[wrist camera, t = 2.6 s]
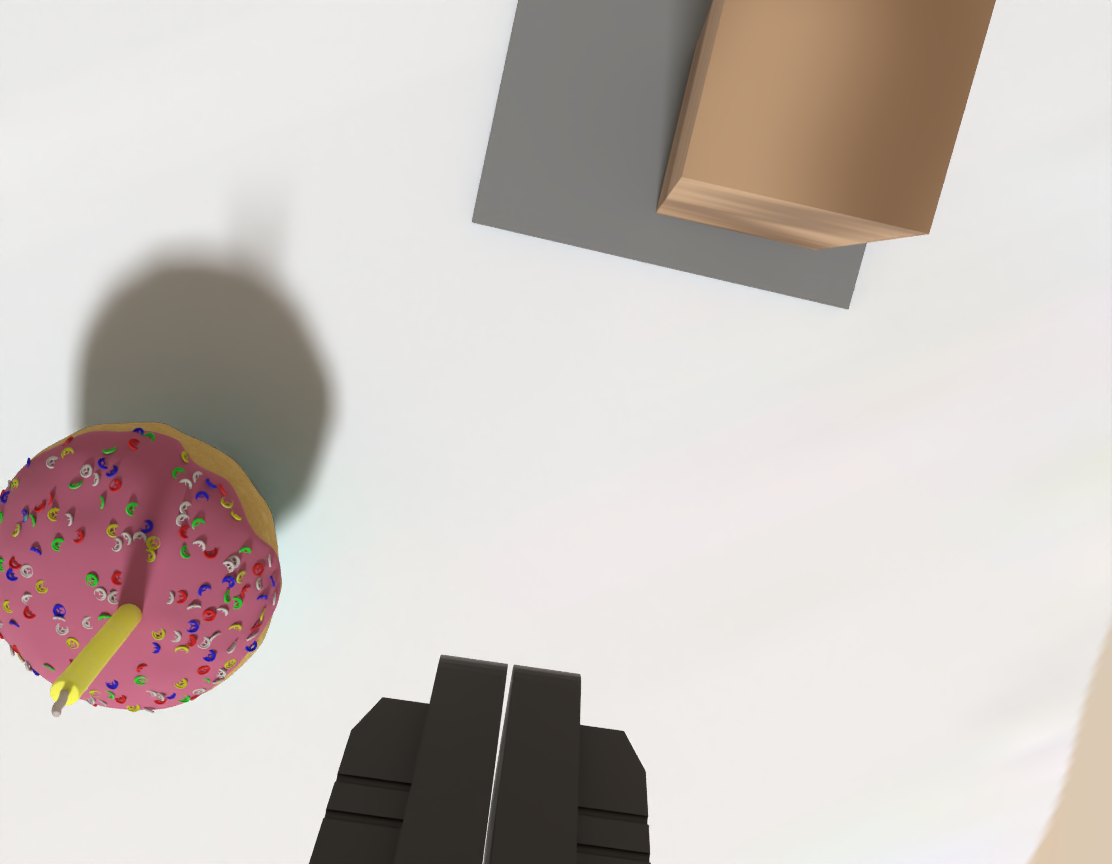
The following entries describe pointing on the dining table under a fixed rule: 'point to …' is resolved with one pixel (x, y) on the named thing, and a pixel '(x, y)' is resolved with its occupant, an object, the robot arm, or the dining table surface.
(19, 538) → the cupcake
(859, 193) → the walnut block
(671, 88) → the mat
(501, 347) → the dining table surface
